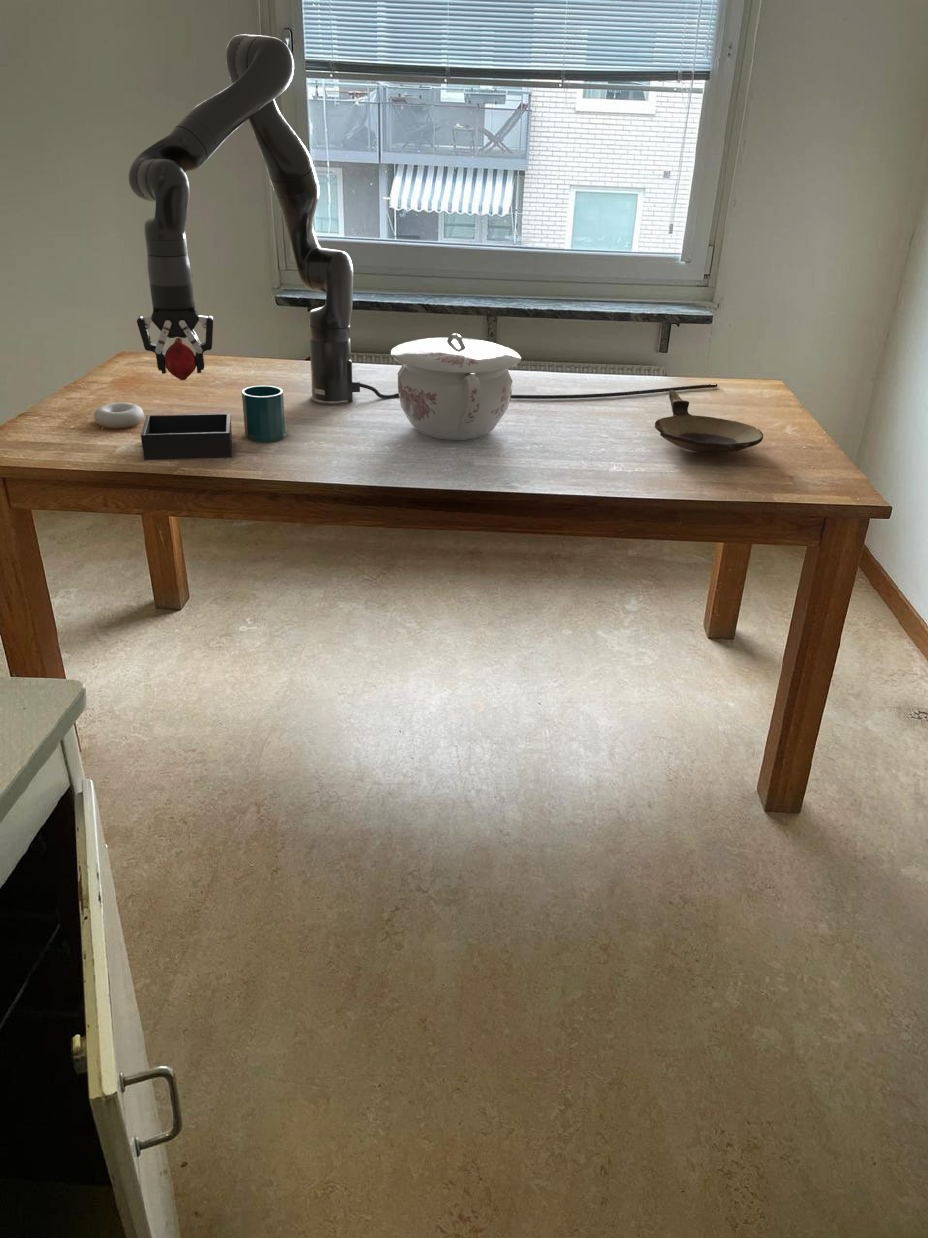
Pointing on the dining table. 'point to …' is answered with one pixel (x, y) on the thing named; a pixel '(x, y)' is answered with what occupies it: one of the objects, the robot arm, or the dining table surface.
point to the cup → (263, 413)
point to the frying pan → (705, 430)
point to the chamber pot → (454, 385)
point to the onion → (180, 360)
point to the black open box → (187, 436)
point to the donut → (119, 415)
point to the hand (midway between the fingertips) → (182, 371)
